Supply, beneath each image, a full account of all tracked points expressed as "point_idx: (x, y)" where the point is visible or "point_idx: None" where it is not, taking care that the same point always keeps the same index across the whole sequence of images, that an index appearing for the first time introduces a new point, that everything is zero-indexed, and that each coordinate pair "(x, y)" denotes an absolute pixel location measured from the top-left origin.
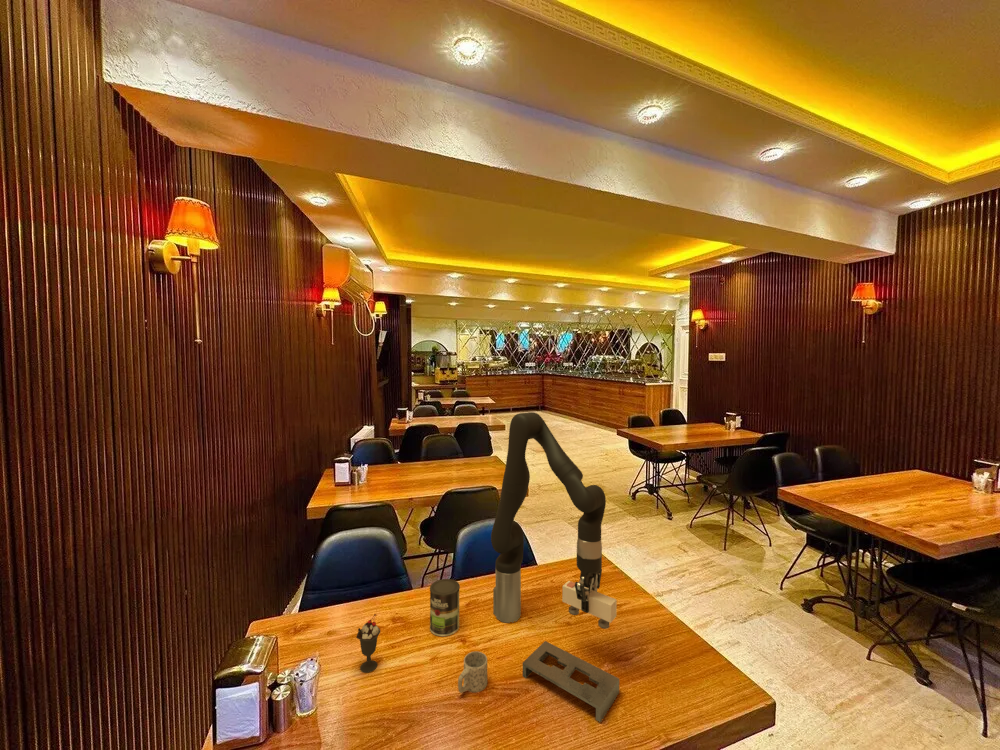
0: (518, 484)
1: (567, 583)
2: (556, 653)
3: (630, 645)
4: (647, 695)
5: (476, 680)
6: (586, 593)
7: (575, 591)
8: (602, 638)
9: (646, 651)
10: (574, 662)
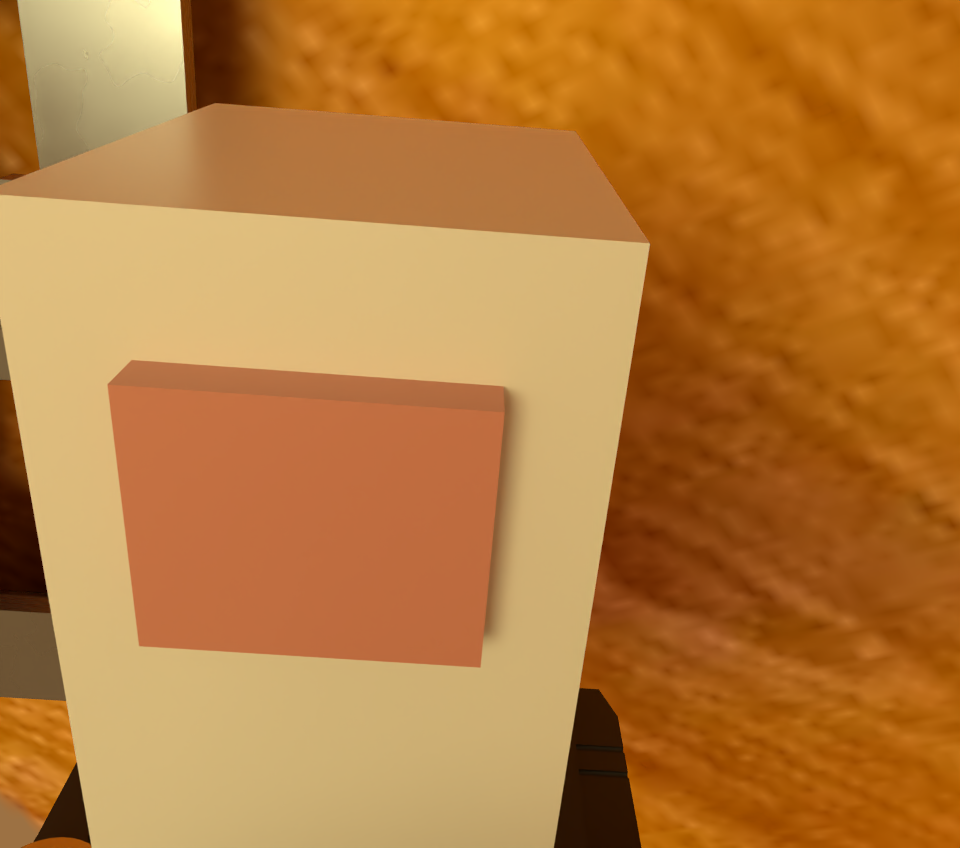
0: None
1: (357, 297)
2: (78, 117)
3: (834, 562)
4: None
5: None
6: None
7: (81, 744)
8: (818, 330)
9: (815, 672)
10: None
